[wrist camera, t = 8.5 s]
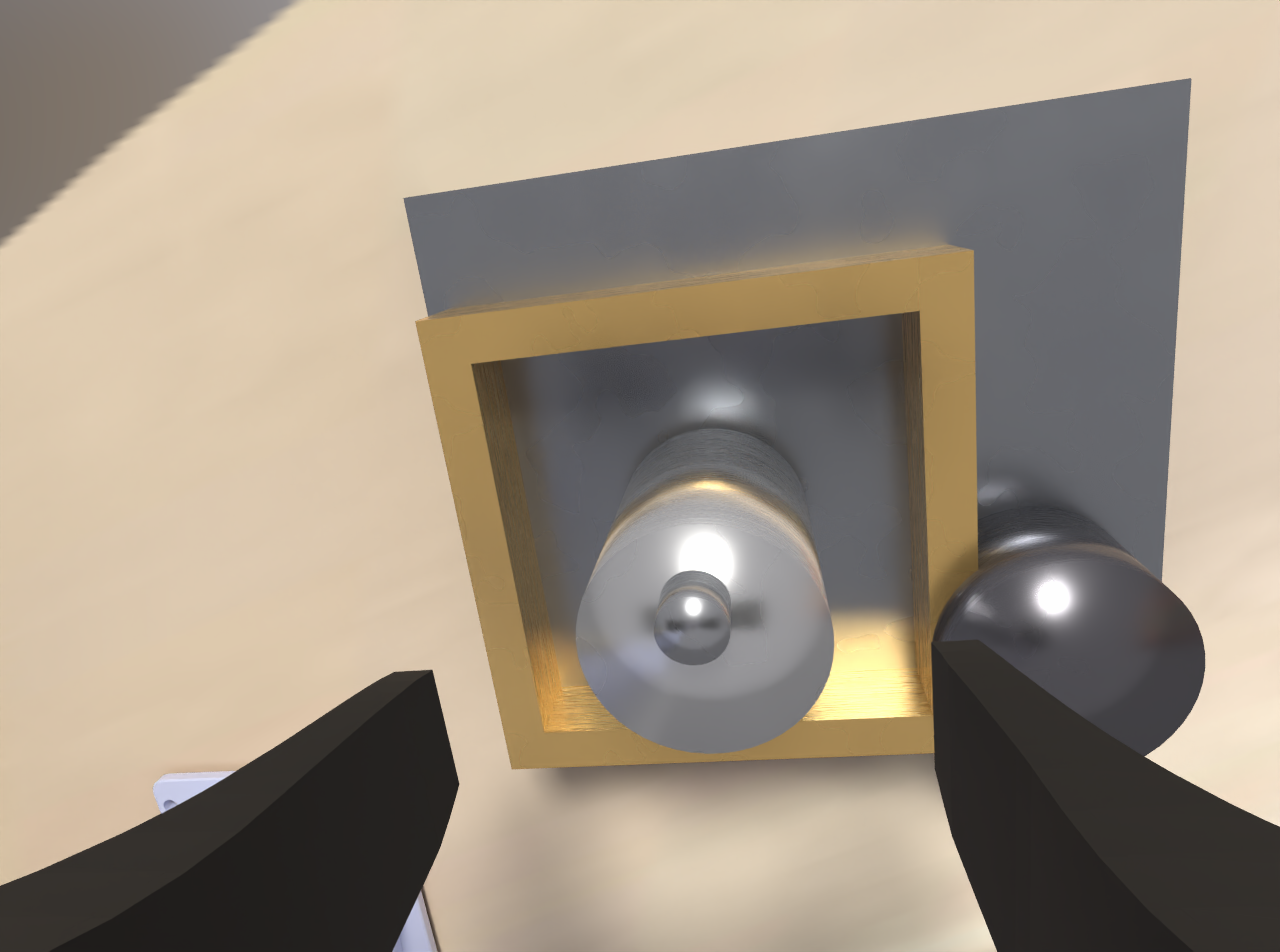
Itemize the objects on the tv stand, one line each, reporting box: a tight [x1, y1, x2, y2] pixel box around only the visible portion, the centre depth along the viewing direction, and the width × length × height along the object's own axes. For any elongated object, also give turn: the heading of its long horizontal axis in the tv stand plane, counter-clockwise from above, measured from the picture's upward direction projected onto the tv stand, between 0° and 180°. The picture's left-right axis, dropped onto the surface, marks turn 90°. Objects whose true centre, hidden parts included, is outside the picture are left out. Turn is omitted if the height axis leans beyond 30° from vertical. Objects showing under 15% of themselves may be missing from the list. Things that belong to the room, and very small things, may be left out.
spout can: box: [576, 429, 835, 754], centre depth 16 cm, size 4×4×7 cm
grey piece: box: [404, 78, 1205, 769], centre depth 19 cm, size 14×16×5 cm
